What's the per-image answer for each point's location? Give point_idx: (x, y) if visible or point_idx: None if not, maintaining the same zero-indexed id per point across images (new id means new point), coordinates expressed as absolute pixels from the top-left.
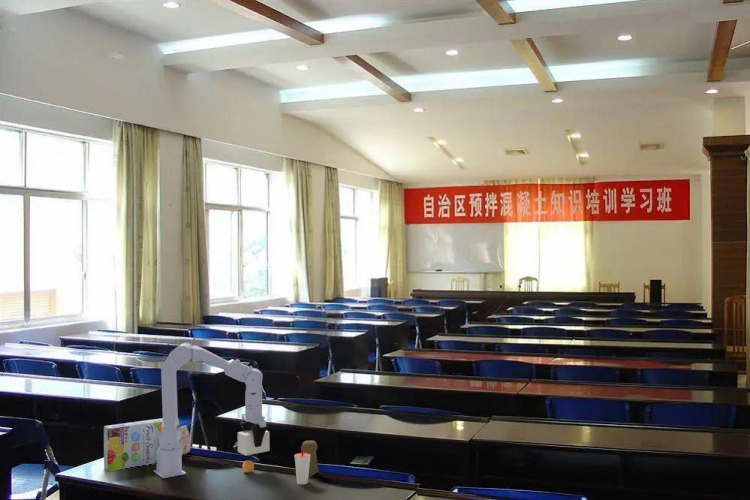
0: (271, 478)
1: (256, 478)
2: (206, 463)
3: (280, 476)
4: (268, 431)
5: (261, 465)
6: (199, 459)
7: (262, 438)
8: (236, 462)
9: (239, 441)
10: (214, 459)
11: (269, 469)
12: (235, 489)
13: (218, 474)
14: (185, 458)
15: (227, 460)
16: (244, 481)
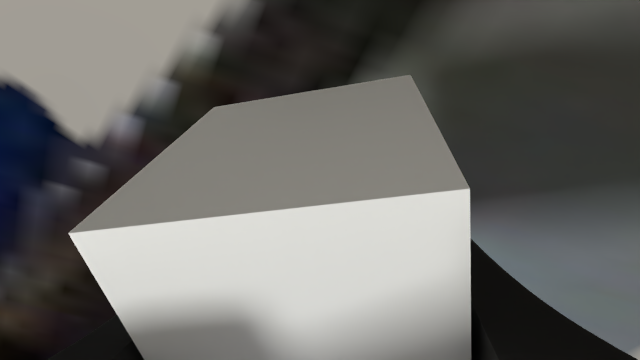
0: (575, 89)
1: (503, 175)
2: (107, 302)
3: (582, 6)
4: (452, 202)
5: (232, 54)
6: (32, 308)
7: (508, 280)
8: (119, 179)
9: None
10: (39, 257)
11: (356, 29)
12: (605, 316)
13: None
14: (10, 344)
15: (67, 209)
16: (510, 247)
